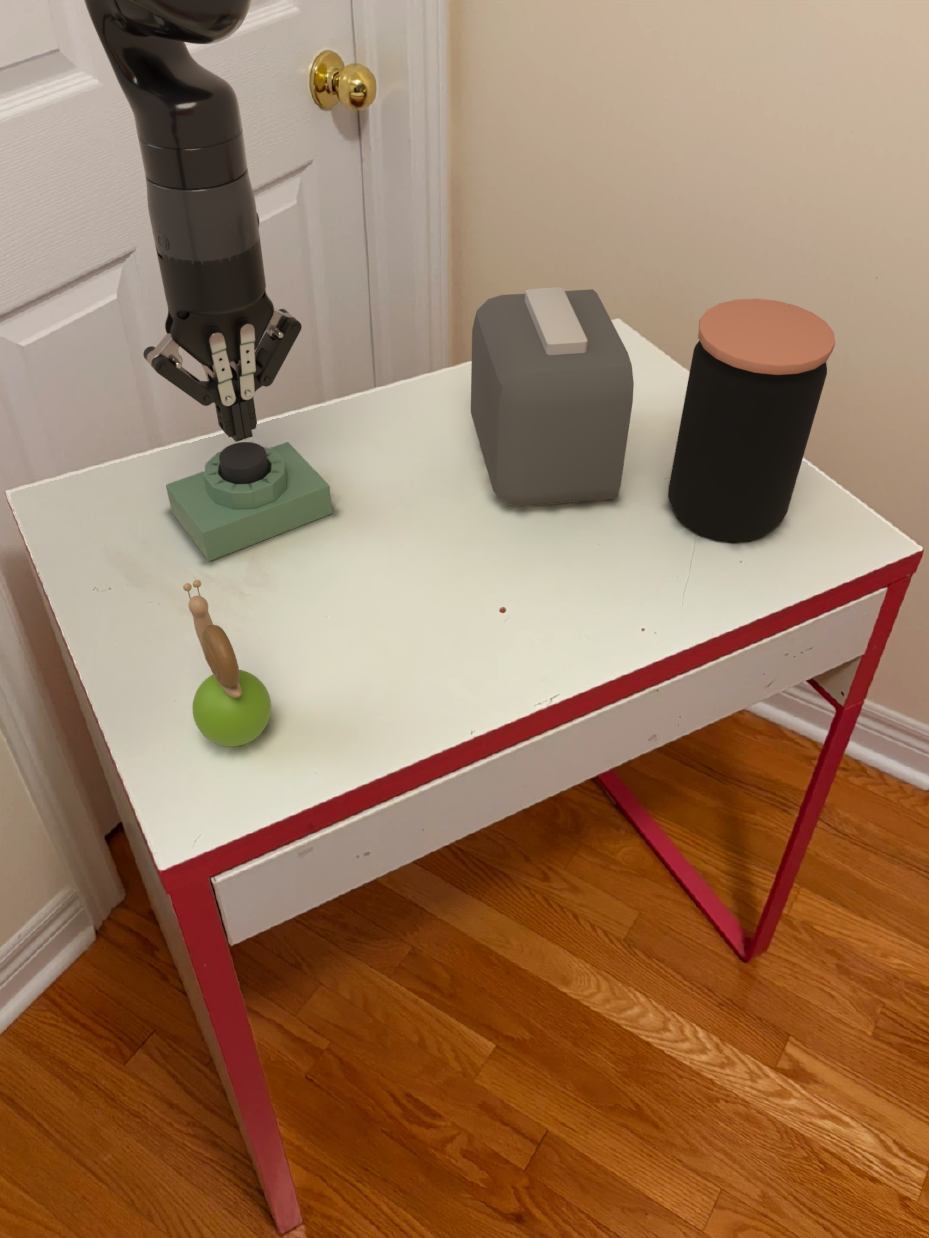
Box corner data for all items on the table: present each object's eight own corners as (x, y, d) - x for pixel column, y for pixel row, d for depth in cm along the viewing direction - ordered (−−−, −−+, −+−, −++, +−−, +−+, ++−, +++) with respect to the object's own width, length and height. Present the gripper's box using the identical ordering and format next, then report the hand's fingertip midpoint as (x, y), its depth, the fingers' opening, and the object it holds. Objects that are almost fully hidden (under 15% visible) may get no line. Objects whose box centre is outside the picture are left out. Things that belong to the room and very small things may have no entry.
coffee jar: (809, 520, 94) (865, 339, 82) (723, 563, 90) (768, 379, 77) (725, 462, 101) (765, 286, 88) (641, 499, 96) (670, 320, 84)
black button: (234, 491, 89) (231, 474, 88) (214, 467, 91) (211, 451, 90) (276, 475, 91) (274, 459, 89) (256, 453, 93) (253, 436, 92)
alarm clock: (616, 511, 95) (638, 358, 84) (493, 522, 94) (500, 368, 83) (575, 412, 106) (590, 266, 96) (465, 421, 105) (467, 274, 94)
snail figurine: (251, 685, 79) (227, 566, 71) (287, 741, 75) (267, 622, 67) (183, 713, 77) (150, 594, 69) (216, 773, 73) (187, 654, 65)
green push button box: (208, 562, 89) (199, 516, 86) (171, 513, 94) (161, 467, 91) (332, 513, 94) (328, 468, 91) (291, 469, 99) (285, 424, 95)
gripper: (266, 197, 81) (289, 392, 93) (100, 236, 76) (147, 438, 88) (312, 232, 77) (330, 432, 89) (139, 276, 71) (183, 483, 83)
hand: (239, 435), depth 88 cm, fingers closed
